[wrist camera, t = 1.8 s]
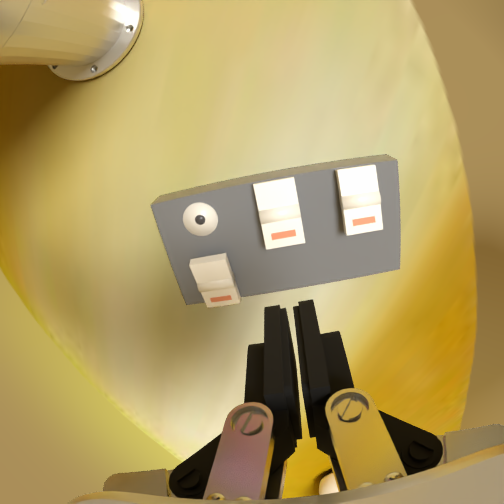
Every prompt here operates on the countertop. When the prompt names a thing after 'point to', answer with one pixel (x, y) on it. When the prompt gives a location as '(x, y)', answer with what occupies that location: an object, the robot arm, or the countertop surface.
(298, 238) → the rocker mid
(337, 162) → the switch panel
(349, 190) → the rocker near
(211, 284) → the rocker far
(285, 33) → the countertop surface
